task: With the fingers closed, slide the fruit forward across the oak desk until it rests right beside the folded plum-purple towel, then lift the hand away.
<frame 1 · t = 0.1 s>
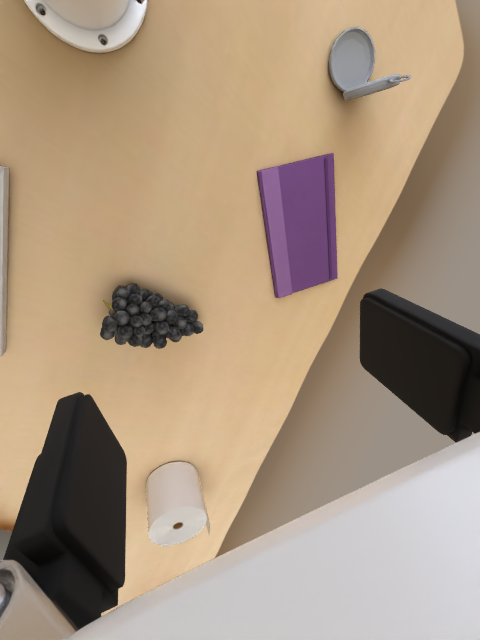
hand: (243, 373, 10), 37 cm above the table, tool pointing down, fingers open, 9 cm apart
fruit: (153, 311, 47), on the table
toilet tissue: (175, 477, 64), on the table
pocket watch: (347, 74, 41), on the table
towel: (301, 230, 49), on the table
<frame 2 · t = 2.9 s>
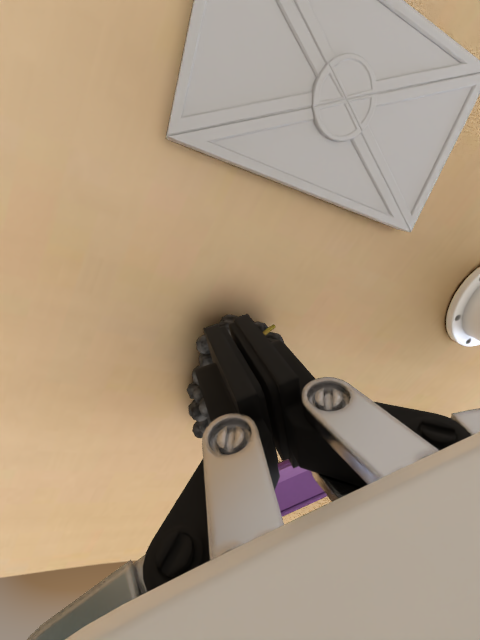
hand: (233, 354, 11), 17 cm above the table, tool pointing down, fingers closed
envelope: (328, 105, 25), on the table
fruit: (214, 362, 33), on the table
towel: (291, 484, 46), on the table
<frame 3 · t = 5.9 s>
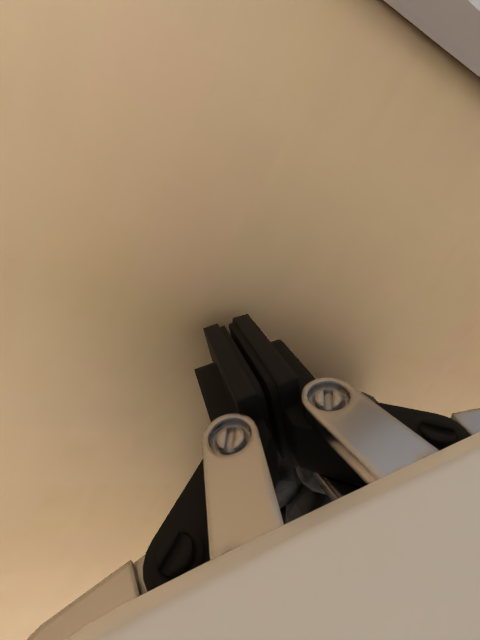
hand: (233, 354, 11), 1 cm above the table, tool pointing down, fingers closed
fruit: (260, 462, 17), on the table, touching gripper
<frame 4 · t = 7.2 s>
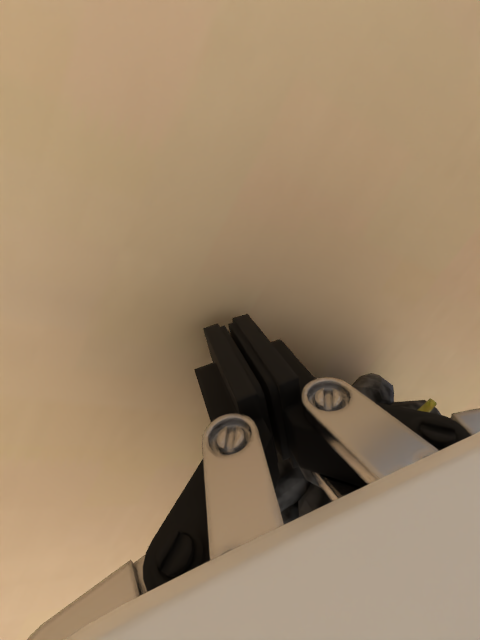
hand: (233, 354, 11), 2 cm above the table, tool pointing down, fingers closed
fruit: (282, 452, 17), on the table, touching gripper
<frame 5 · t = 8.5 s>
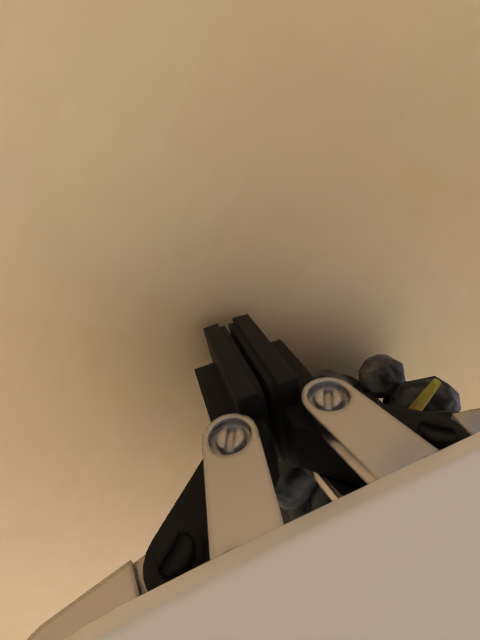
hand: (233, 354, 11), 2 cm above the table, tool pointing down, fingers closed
fruit: (304, 440, 17), on the table, touching gripper
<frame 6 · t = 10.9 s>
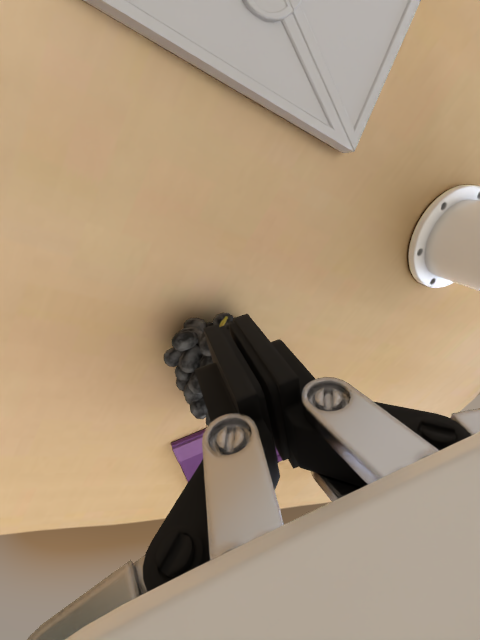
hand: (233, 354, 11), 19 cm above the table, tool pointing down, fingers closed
fruit: (201, 360, 34), on the table
towel: (251, 441, 43), on the table
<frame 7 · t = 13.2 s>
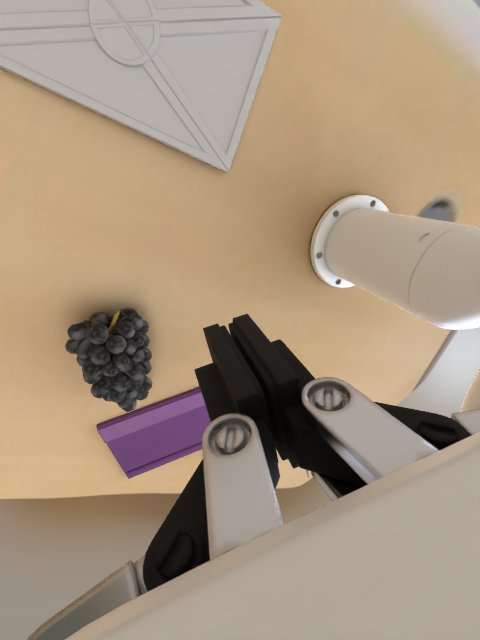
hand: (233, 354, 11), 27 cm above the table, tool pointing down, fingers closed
envelope: (126, 34, 27), on the table
fruit: (116, 350, 39), on the table
towel: (178, 426, 47), on the table
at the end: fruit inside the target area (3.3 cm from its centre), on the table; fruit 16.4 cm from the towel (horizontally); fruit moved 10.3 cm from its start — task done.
